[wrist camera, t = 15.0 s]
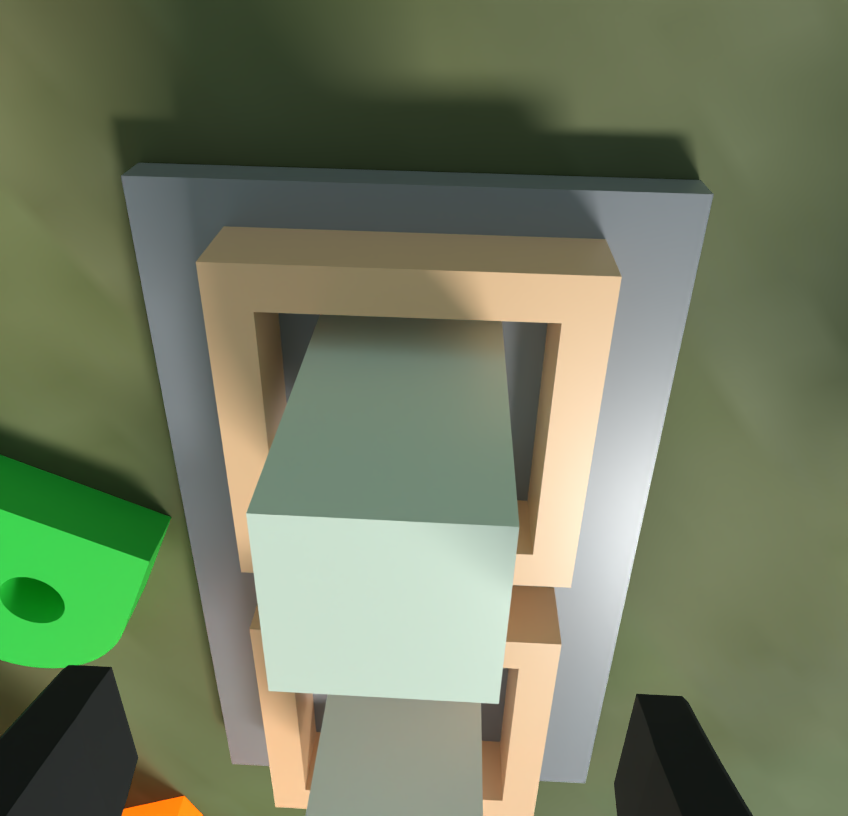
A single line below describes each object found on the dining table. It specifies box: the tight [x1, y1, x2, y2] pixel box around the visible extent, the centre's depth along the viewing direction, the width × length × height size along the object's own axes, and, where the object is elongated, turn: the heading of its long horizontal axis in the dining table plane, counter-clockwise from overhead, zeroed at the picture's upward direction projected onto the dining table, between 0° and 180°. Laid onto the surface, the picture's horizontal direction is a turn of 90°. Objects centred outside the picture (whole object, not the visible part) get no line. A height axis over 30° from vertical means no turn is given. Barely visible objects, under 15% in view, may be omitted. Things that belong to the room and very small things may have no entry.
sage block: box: [246, 315, 519, 704], centre depth 15 cm, size 4×4×7 cm
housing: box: [121, 163, 713, 816], centre depth 21 cm, size 12×20×3 cm, turn 179°
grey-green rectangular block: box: [306, 694, 483, 816], centre depth 21 cm, size 4×4×7 cm
